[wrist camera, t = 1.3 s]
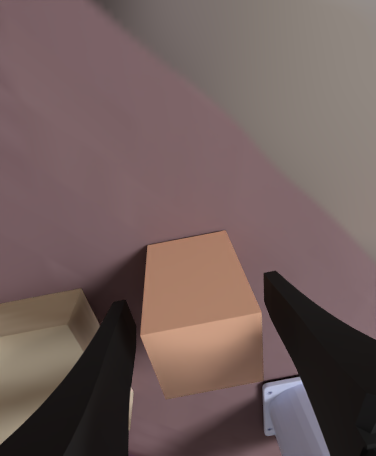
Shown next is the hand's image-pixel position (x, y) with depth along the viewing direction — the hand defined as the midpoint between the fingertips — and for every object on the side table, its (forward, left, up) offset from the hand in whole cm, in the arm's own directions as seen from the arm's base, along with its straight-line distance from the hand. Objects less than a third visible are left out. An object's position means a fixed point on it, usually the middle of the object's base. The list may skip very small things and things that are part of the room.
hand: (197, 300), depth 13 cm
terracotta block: (0, 0, -3) cm, 3 cm away
